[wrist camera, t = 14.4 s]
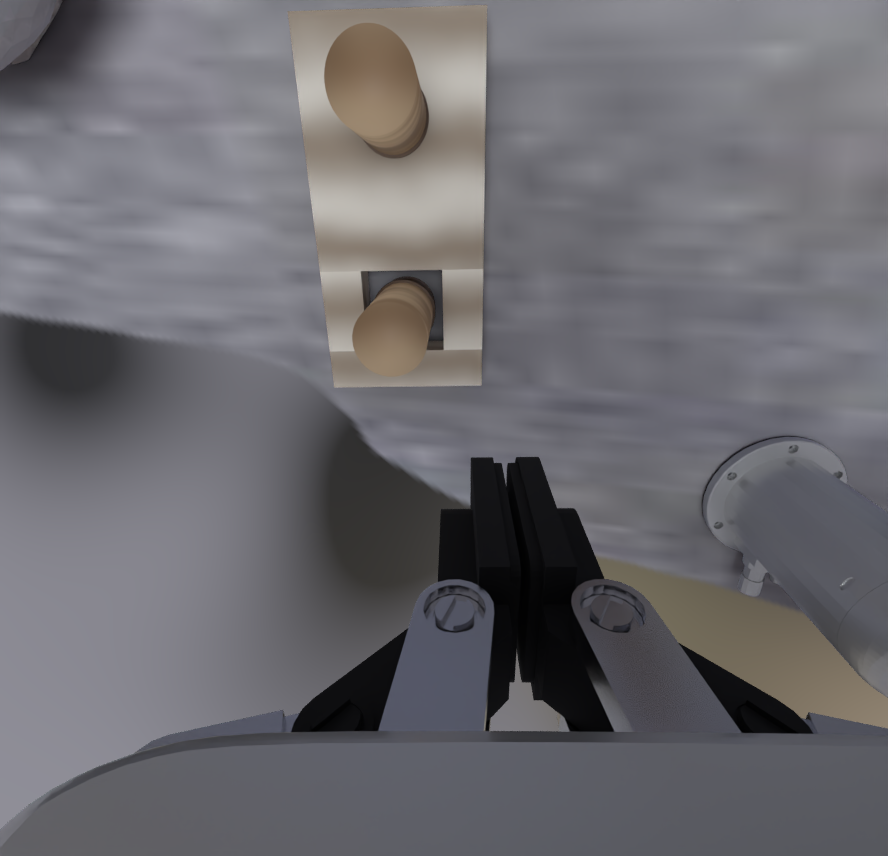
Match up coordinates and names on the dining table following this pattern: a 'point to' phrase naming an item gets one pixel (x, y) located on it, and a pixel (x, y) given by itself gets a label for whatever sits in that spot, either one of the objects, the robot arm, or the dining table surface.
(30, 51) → the ceramic pitcher
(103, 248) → the dining table surface
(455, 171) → the board
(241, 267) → the dining table surface
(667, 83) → the dining table surface
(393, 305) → the oak peg
